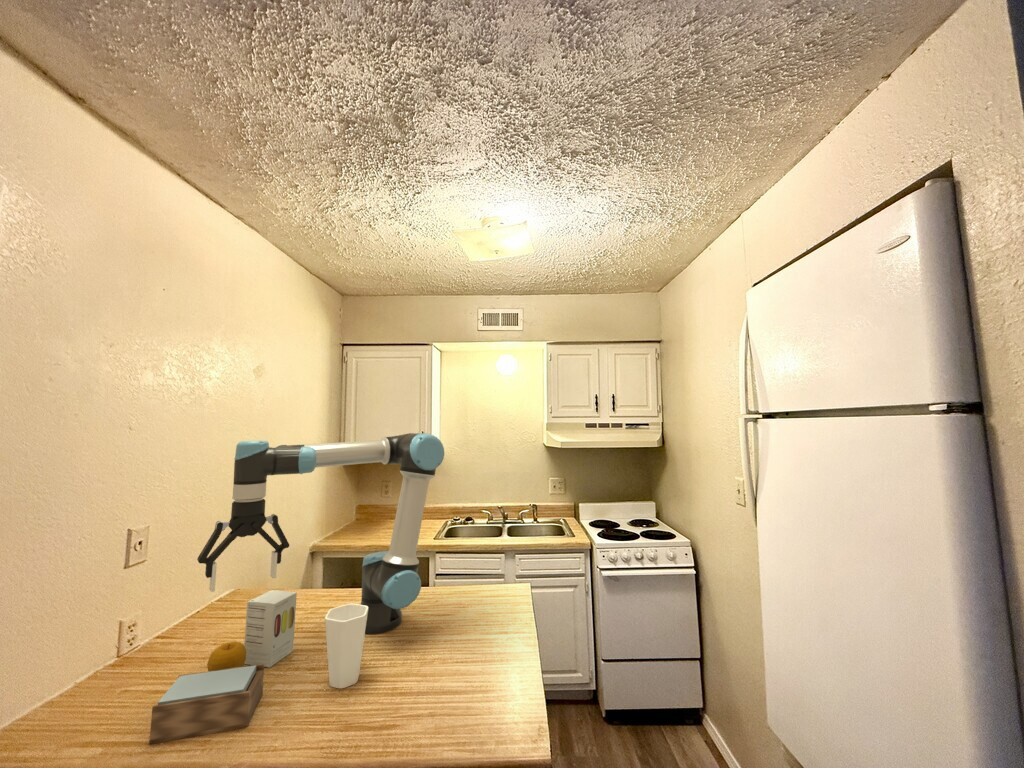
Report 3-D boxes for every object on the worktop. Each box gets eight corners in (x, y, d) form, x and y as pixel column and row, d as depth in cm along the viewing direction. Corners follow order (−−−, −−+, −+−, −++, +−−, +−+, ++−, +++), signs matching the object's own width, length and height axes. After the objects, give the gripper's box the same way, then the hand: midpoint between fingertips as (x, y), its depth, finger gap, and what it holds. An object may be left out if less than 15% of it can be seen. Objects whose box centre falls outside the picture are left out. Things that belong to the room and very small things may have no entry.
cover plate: (256, 671, 103) (256, 665, 104) (242, 696, 94) (243, 689, 94) (179, 682, 99) (179, 676, 99) (157, 709, 89) (157, 702, 89)
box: (262, 694, 104) (264, 663, 105) (247, 727, 93) (249, 692, 93) (176, 707, 99) (179, 675, 100) (149, 744, 88) (152, 707, 88)
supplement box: (269, 668, 115) (273, 604, 117) (241, 664, 117) (245, 601, 119) (294, 650, 125) (297, 591, 126) (267, 647, 126) (271, 588, 128)
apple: (214, 694, 104) (217, 656, 105) (199, 683, 109) (201, 647, 110) (251, 676, 111) (253, 641, 112) (235, 667, 116) (237, 633, 117)
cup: (374, 673, 113) (376, 607, 115) (348, 696, 103) (351, 623, 105) (340, 666, 117) (343, 601, 118) (312, 687, 107) (316, 616, 109)
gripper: (295, 492, 122) (291, 568, 120) (188, 503, 105) (181, 591, 103) (304, 495, 117) (300, 575, 114) (192, 507, 100) (185, 601, 97)
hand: (243, 583), depth 109 cm, fingers open, 13 cm apart
